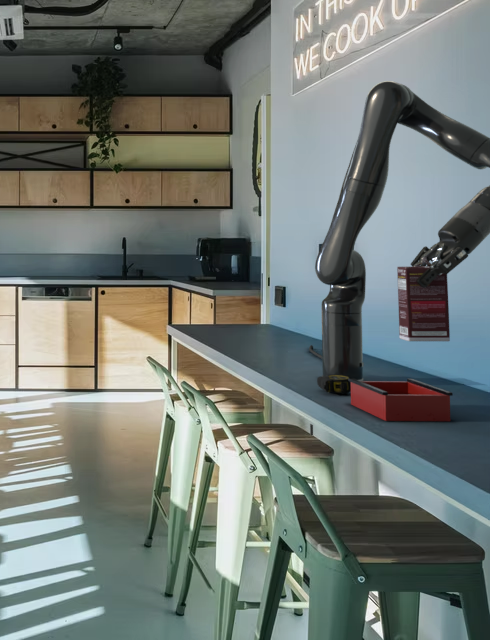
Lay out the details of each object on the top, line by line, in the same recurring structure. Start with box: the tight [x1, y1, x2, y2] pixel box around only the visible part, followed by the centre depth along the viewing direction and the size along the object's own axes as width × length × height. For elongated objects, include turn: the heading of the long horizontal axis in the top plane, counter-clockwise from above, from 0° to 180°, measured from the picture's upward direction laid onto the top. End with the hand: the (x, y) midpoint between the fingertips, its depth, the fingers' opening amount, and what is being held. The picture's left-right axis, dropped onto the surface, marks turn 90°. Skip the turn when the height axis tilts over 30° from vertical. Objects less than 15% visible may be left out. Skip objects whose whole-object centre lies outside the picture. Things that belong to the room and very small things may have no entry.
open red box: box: [348, 378, 454, 422], centre depth 149 cm, size 15×14×6 cm
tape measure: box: [316, 375, 351, 395], centre depth 169 cm, size 7×7×4 cm
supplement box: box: [396, 265, 451, 342], centre depth 157 cm, size 9×5×16 cm, turn 85°
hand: (413, 283), depth 158 cm, fingers closed on supplement box, 5 cm apart
